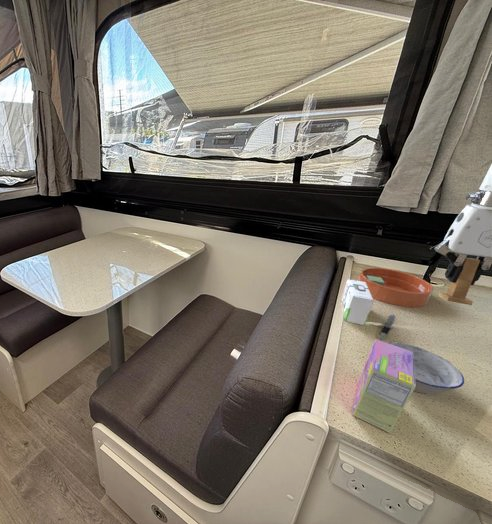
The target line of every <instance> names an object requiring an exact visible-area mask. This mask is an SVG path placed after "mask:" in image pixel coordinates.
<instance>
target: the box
mask: <svg viewBox="0 0 492 524" xmlns="http://www.w3.org/2000/svg"><path fill="white" fill-rule="evenodd" d="M388 343H389V342H385V341H382V340H378V339H375V340H374V342H373V345H372V348H371V349H370V352H369V355H368V357H367V360H366V362H365V365H364V368H363V370H362V373H361V374H360V377H359V380H358V383H357V387H356V393H355V397H354V402H353V407H352V412H351V414H352V416H354V417H355V418H358V419H359V420H361V421H363V422H365V423H367V424H370V425H371V426H373V427H376V428H377V429H379V430H382V431H384V432H386V433H388V434H391V432H392V431H393V429H394V428H395V426H396V423H397V421H398V419H399V418H400V416H401V414H402V412H403V410H404V409H405V407H406V406H407V403H408V401H409V400H410V398H411V396H412V394H413V393H414V391H413V390H414V389H415V387H416V384H415V371H414V356H413V352H412V351H409V350H406V349H403V348H400V347H397V346H394V345H391V344H388Z"/></svg>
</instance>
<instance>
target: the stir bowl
mask: <svg viewBox="0 0 492 524" xmlns="http://www.w3.org/2000/svg"><path fill="white" fill-rule="evenodd" d="M367 275H368V276H374V277H381V278H382V280H383V281H384V285H383V286H382V285H379V284H377V283H374V282H372V281H371V280H369V279H367V278H366V276H367ZM357 281H362V282H366V284H367V286H368V289H369V291H370V293H371V295H372V298H373V300H374V299H375V300H377V301H380V302H383V303H386V304H389V305H394V306H399V307H403V308H404V307H406V308H421V307H425V306H426V305H427V304H428V303H429V300H430V298H431V296H432V294H433V292H434V286H433V285H432V284H431V283H430V282H428V281H426V280H425V279H423V278H420V277H418V276H416V275H413V274H410V273H407V272H404V271H401V270H396V269H390V268H383V267H367V268H363V269H362V270H361V271H360V273H359V275H358V278H357Z"/></svg>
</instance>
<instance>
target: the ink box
mask: <svg viewBox="0 0 492 524" xmlns="http://www.w3.org/2000/svg"><path fill="white" fill-rule="evenodd" d="M341 299H342V301H343V305H344V313H343V317H344V322H348V323H352V324H356V325H360V326H365V325H366V323H367V320H368V319H369V315H370V312H371V309H372V307H373V304H374V302H375V301H374V298H372V295H371V293H370V291H369V289H368V286H367V284H366V282H362V281H358V280H355V279H349V278H348V279H346V283H345V286H344V290H343V292H342V296H341Z"/></svg>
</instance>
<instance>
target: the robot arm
mask: <svg viewBox="0 0 492 524" xmlns="http://www.w3.org/2000/svg"><path fill="white" fill-rule="evenodd" d="M465 200H466V201H470V203H471V204H466V205H465V207H464V208H463V209H462V210H461V211H460V212H459V214H458V215H457V216H456V217H455V219H454V221H453V223H452V224H451V225H450V227H449V229H448V230H447V233H446V234H445V236H444V238H443V241H441V242H440V243H439V244H437V245H436V246H435V247H434V251H435V252H437V253H439V254H440V255H443V256H445V258H446V259H447V260H448V261H449V264H448V266H447V268H446V270H445V272H444V276H445V279H447V280H448V281H449V282H450V283H451V282H453V283H455V282H456V281H457V279H458V277H459V275H460V273H461V272H462V270H463V267H462V263H463V262H464V260H465V258H468V257H467V256H475V257H476V258H475V259H477V260H480V262H479V265H478V267H477V270H476V272H475V275H474V277H473V280H472V283H471V285H470V286H474V285H475V284H476V282H478V281H479V280H480V278H481V277H482V275H483V273H484V271H487V270H489V269H490V268H492V163H491V164H490V166H489V168H488V170H487V172H486V174H485V176H484V178H483V180H482V182H481V184H480V186H479V188H478V189H477V190H476V191H475V192H473V193H471V192H469V193H467V194H466V196H465Z"/></svg>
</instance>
